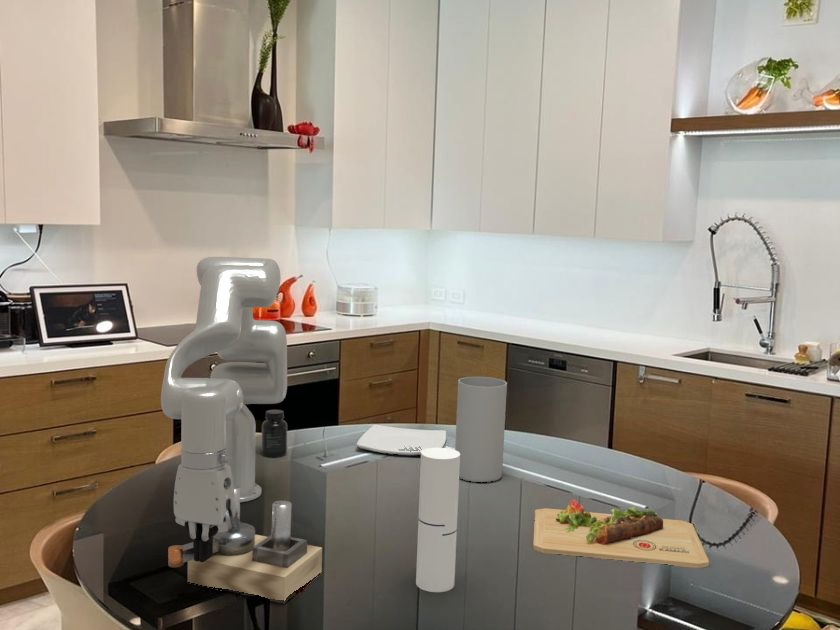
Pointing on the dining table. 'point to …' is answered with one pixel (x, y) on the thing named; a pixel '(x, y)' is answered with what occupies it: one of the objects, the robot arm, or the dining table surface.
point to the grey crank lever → (219, 540)
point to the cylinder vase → (480, 428)
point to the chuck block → (260, 569)
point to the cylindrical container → (437, 519)
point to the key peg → (281, 525)
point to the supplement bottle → (274, 434)
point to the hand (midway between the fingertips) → (203, 558)
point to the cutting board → (618, 536)
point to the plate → (400, 440)
